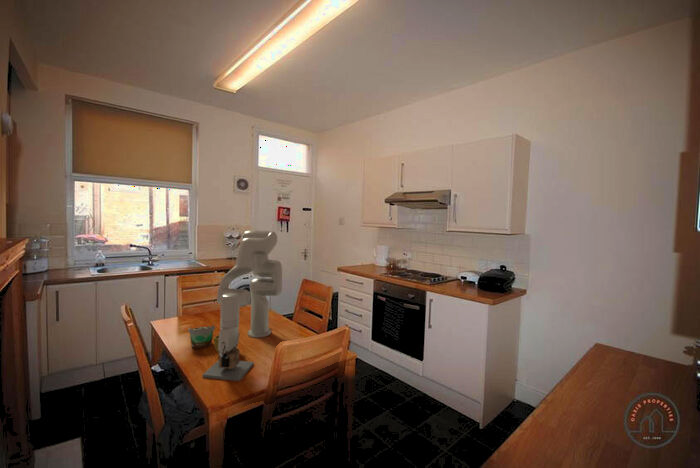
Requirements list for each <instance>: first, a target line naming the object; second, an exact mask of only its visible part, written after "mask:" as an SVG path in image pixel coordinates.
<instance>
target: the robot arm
mask: <svg viewBox="0 0 700 468" xmlns="http://www.w3.org/2000/svg"><path fill="white" fill-rule="evenodd" d="M242 238H243V239H242V240H241V241H240V243H239V248H238V250H237V251H238V252H237V255H236V260H235V263H234V266H233V267H232V268H231V269H230V270H229V271H227V273H226V274H224V276H222V278H221V279H220V283H219V286H218V290H217V295H216V302H217V303H218V305H220V327H219V333H218V335H219V341H218V351H220V352H219V354H218V356H219V355H220V356H221V358H222V361H221V366H222V367H229V358H228V357H229V351H230V350H232V349H233V348H234V349H238V344H239V342H240V341H239V340H240V334H239V333H240V329H239V326H240V309H241V308H242V307H243V308H244V307H245V306H247V305H248V304H249V303H250V329H249V330H248V331H247V335H248V337H251V338H257V339H258V338H265V337H268V336H270V335H271V334H272V330H271V329H270V328H269V325H270V321H269V316H270V315H269V313H270V311H269V309H270V308H269V307H270V305H269V304H270V303H269V302H270V301H269V300H268V298H267V297H278V296H280V295H281V294H282V290H283V267H282V266H283V265H282V263H281V261H280V260H278V259H269V255H270V253H271V252H272V251H273V249H274V248H275V247H276V246H277V243H278V235H277V233H276V232H275V231H272V230H257V229H256V230H252V229H251V230H250V229H249V230H246V231H244V232H243V236H242ZM251 272H252V274H253V275H254V276H256V278H254V279H252V280H251V281H250V283H249V290H248V289H245V288H244V289H243V288H242V289H241V288H229V287H230V284H231V283H232V282H233V281H234V280H236V279H237V278H240V277H241V276H244V275H247V274H250V273H251ZM225 349H227V350H225ZM224 352H227V354H224Z"/></svg>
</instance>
